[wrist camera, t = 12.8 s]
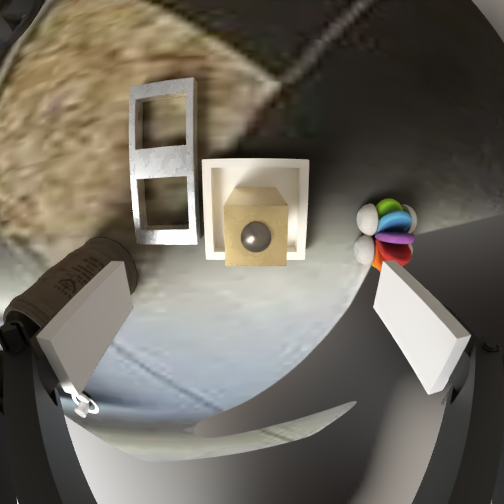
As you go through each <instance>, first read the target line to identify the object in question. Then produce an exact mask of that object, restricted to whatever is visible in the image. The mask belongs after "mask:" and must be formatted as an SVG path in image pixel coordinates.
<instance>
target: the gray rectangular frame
mask: <svg viewBox="0 0 504 504" xmlns="http://www.w3.org/2000/svg"><path fill="white" fill-rule="evenodd" d="M197 96H198V82H197V81H196V80H195V79H194V77H192V78H183V79H175V80H167V81H161V82H154V83H149V84H143V85H138V86H133V87H130V97H129V158H130V179H131V193H132V205H133V215H134V225H135V233H136V241H137V244H197V243H198V242H199V240H200V238H201V232H200V213H199V189H198V149H197ZM178 97H186V145H179V146H167V147H157V148H148V149H143V102H149V101H155V100H162V99H170V98H178ZM176 176H187V191H188V211H189V225H148V222H147V212H146V200H145V185H144V179H147V178H160V177H176Z"/></svg>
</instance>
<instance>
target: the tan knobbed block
mask: <svg viewBox="0 0 504 504" xmlns="http://www.w3.org/2000/svg"><path fill="white" fill-rule="evenodd" d="M288 210H289V206H288V204H287V203H286V201H285V200H284V198H283V197H282V195H281V194H280V192H279V191H278V189H277V188H273V187H234V189H233V191H232V192H231V194H230V196H229V197H228V199H227V201H226V202H225V204H224V240H225V266H286V260H287V238H288Z"/></svg>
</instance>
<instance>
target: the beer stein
mask: <svg viewBox="0 0 504 504" xmlns="http://www.w3.org/2000/svg"><path fill="white" fill-rule="evenodd" d="M111 261H124V265H125V270H126V276H127V281H128V285H129V290H130V295H131V294H132V293H133V292H134V290H135V287H136V283H137V273H136V268H135V265H134V263H133V261H132V259H131V257H130V255H129V254H128V252H127V251H126V250H125V249H124V248H123V247H122V246H121V245H120V244H118V243H117V242H115V241H113V240H111V239H107V238H94V239H91V240H89V241H88V242H86V243H85V244H84V245H83V246H82V247H80V248H79V249H76V250H75V251H73V252H71V253H69V254H68V255H67V256H66V257H65V258H64V259H63V260H61V261H60V262H59V263H57V264H56V265H55V266H53V267H51V268H50V269H49V270H48V271H46V272H45V273H44V274H43V275H42V276H41V277H40V278H39V279H38V281H37V282H36V283H34V284H33V285H32V286H31V287H30V288H29V289H27V290H26V291H25V292H24V293H22V294H21V295H19V296H17V297H15V298H14V299H13V300H12V301H11V302H10V304H9V306H8V307H7V308H6V309H5V312H4V315H3V321H4V324H5V323H8V322H10V321H15V320H16V321H20V322H22V323H23V325H24V328H25V330H26V332H27V335H28V337H29V339H31V338H32V337H33V336H34V334H35V333H36V332H37V331H38V330H39V329H40V328H41V327H42V326H43V325H44V324H46V321H47V320H48V319H49V318H51V316H52V315H53V314H54V313H55V312H56V311H57V310H59V309H60V308H62V307H64V306H65V305H66V304H67V303H68V302H69V301H70V300H71V299H72V298H73V297H74V296H75V295H76V294H77V293H78V292H79V291H80V290H81V289H82V288H83V287H84V286H85V285H86V284H87V283H88V282H90V281H91V280H92V279H93V278H94V277H95V276H96V275H97V274H98V273H99V272H100V271H101V270H102V269H103V268H104V267H106V266H107V265H108V264H109V263H110V262H111Z"/></svg>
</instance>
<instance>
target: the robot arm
mask: <svg viewBox="0 0 504 504" xmlns="http://www.w3.org/2000/svg"><path fill="white" fill-rule="evenodd" d="M42 2H43V0H0V49H4V48H7V47H8V46H10V45H11V44H12V43H14V42H15V41H16V40H17V39H18V38H19V37H20V36H21V35H22V33H23V32H24V31H25V30H26V29H27V27H28V26H29V25H30V23H31V22H32V20H33V19H34V17H35V16H36V14H37V12H38V11H39V9H40V7H41V5H42ZM373 308H374V309H375V310H376V312H377V313H378V315H379V316H380V318H381V319H382V321H383V322H384V324H385V325H386V327H387V328H388V330H389V331H390V333H391V334H392V336H393V338H394V339H395V341H396V342H397V344H398V345H399V347H400V349H401V350H402V352H403V353H404V355H405V357H406V358H407V360H408V361H409V363H410V365H411V366H412V368H413V370H414V371H415V373H416V375H417V376H418V378H419V380H420V381H421V383H422V385H423V387H424V388H425V390H426V392H427V393H428V395H429V394H432V393H435V392H438V391H441V390H443V388H444V387H445V385H446V383H447V381H448V380H450V382H451V383H452V386H451V388H450V390H449V391H448V393H447V395H446V396H445V398H444V399H443V401H442V403H441V404H444V402H445V401H446V400H447V403H446V407H445V411H444V415H443V420H442V423H441V427H440V431H439V434H438V438H437V441H436V444H435V447H434V450H433V453H432V456H431V459H430V462H429V464H428V467H427V470H426V472H425V475H424V477H423V480H422V482H421V485H420V487H419V489H418V491H417V494H416V496H415V498H414V500H413V502H412V504H491V500H492V504H504V348H501V347H500V346H499V344H498V343H497V342H495V341H494V340H493V339H491V338H488V337H479V338H478V337H477V336H476V335H475V334H474V333H473V332H472V331H471V330H470V329H469V328H468V327H467V326H466V325H465V324H464V323H463V322H461V319H459V317H458V316H456V314H454V312H453V311H452V310H451V309H450V308H448V307H446V306H445V305H443V304H441V303H440V302H439V301H438V300H437V299H436V298H435V297H434V296H433V295H432V294H431V293H429V291H428V290H426V289H425V288H424V287H423V286H422V285H421V284H420V283H419V282H418V281H417V280H416V279H415V278H414V277H413V276H412V275H410V274H409V273H408V272H407V271H406V270H405V269H404V268H403V267H402V266H401V265H399V264H398V263H397V262H396V261H383V263H382V269H381V274H380V279H379V284H378V289H377V293H376V298H375V302H374V306H373ZM132 309H133V304H132V299H131V295H130V290H129V285H128V281H127V276H126V270H125V265H124V261H111V262H110V263H109V264H108V265H107V266H106V267H104V268H103V269H102V270H101V271H100V272H99V273H98V274H97V275H96V276H95V277H94V278H93V279H92V280H91V281H90V282H88V283H87V284H86V285H85V286H84V287H83V288H82V289H81V290H80V291H79V292H78V293H77V294H76V295H75V296H74V297H73V298H72V299H71V300H70V301H69V302H68V303H67V304H66V305H65V306H64V307H62V308H60V309H59V310H57V311H56V312H55V313H54V314H53V315H52V316H51V318H49V319H48V320H47V321H46V324H44V325H43V326H42V327H41V328H40V329H39V330H38V331H37V332H36V333H35V334H34V336H33V337H32V338H31V339H29V337H28V335H27V332H26V330H25V328H24V325H23V323H22V322H20V321H16V320H15V321H10V322H8V323H5V324H4V325H3V326H1V327H0V344H1V346H2V348H3V350H0V504H17V500H18V503H19V504H97V502H96V500H95V498H94V496H93V494H92V492H91V489H90V487H89V485H88V483H87V481H86V478H85V476H84V474H83V471H82V469H81V466H80V463H79V461H78V458H77V455H76V453H75V450H74V447H73V444H72V441H71V438H70V435H69V432H68V428H67V424H66V421H65V417H64V413H63V410H62V405H61V401H60V397H59V393H58V391H57V389H56V388H55V387H56V386H57V384H58V382H60V384H61V386H62V388H63V389H64V391H65V392H67V393H70V394H73V395H77V396H80V395H81V393H82V391H83V389H84V388H85V386H86V384H87V382H88V381H89V379H90V377H91V375H92V374H93V372H94V370H95V369H96V367H97V365H98V363H99V362H100V360H101V358H102V357H103V355H104V353H105V352H106V350H107V349H108V347H109V345H110V344H111V342H112V340H113V339H114V337H115V336H116V334H117V332H118V331H119V329H120V328H121V326H122V325H123V323H124V321H125V320H126V318H127V317H128V315H129V314H130V312H131V311H132Z"/></svg>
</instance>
